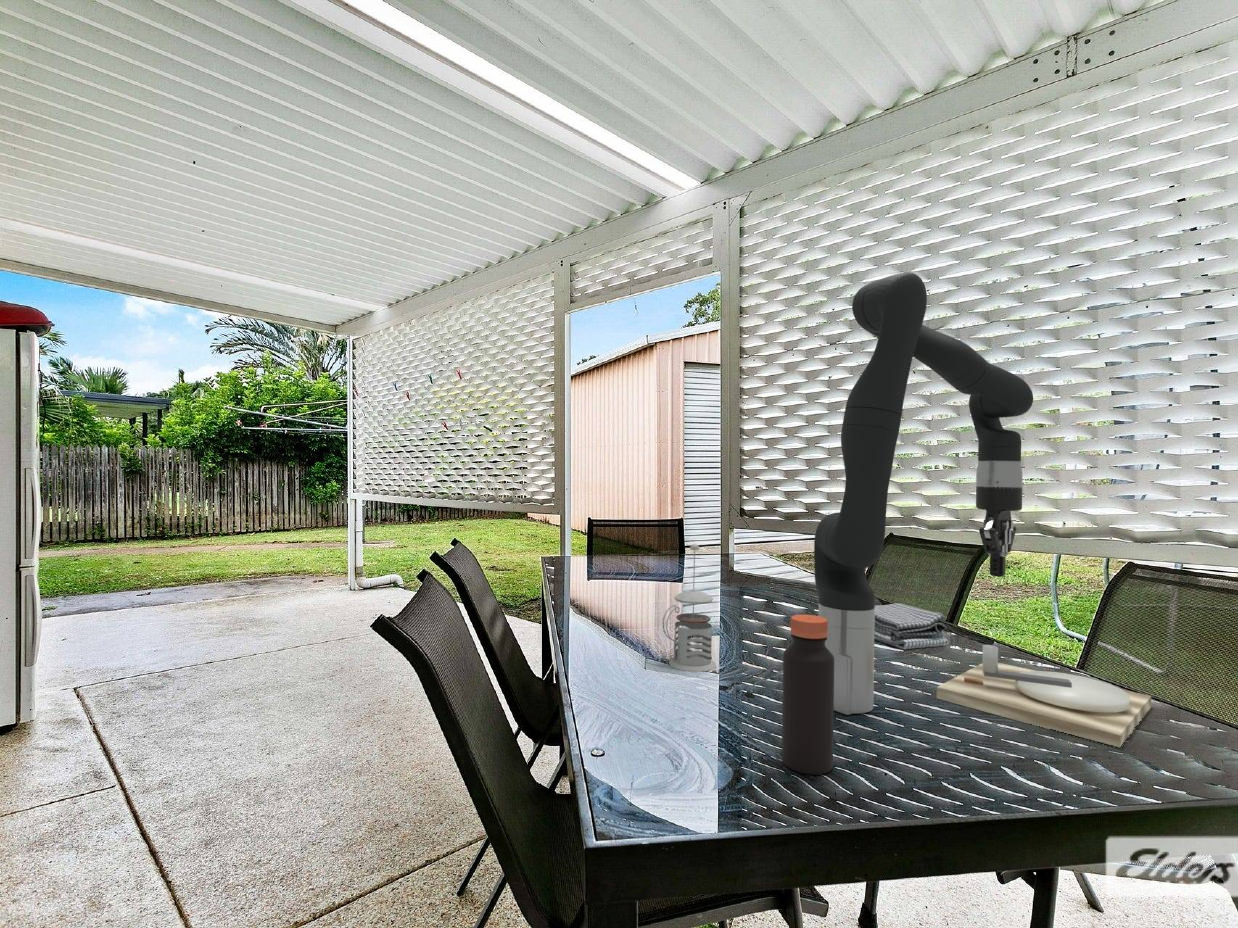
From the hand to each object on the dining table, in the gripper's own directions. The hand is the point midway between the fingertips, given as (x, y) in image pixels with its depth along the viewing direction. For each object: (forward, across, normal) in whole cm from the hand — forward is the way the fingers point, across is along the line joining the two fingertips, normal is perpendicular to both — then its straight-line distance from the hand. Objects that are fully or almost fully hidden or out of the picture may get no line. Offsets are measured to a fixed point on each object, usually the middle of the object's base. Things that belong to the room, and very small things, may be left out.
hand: (997, 575), depth 117 cm
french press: (+22, -36, +46) cm, 62 cm away
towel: (+22, +21, +28) cm, 41 cm away
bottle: (+22, -56, +6) cm, 60 cm away
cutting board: (+21, -2, -8) cm, 23 cm away
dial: (+19, -3, -10) cm, 22 cm away
